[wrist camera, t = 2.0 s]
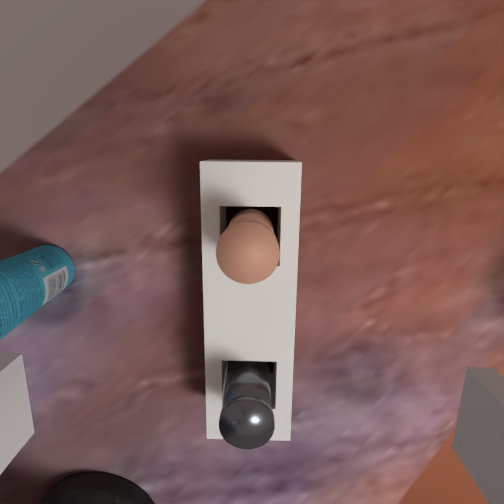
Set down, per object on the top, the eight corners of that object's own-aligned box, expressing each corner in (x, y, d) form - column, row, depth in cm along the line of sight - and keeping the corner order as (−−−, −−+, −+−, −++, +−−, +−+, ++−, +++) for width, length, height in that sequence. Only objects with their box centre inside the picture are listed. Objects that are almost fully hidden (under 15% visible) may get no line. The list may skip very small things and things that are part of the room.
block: (214, 398, 42) (206, 438, 36) (209, 159, 35) (199, 161, 30) (286, 400, 42) (290, 440, 36) (295, 160, 35) (301, 162, 29)
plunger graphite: (227, 392, 37) (219, 448, 30) (226, 352, 36) (218, 401, 29) (271, 392, 37) (274, 449, 30) (272, 352, 36) (275, 402, 29)
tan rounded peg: (225, 255, 34) (216, 283, 27) (225, 206, 32) (215, 221, 25) (275, 256, 33) (278, 284, 26) (276, 206, 32) (280, 222, 25)
